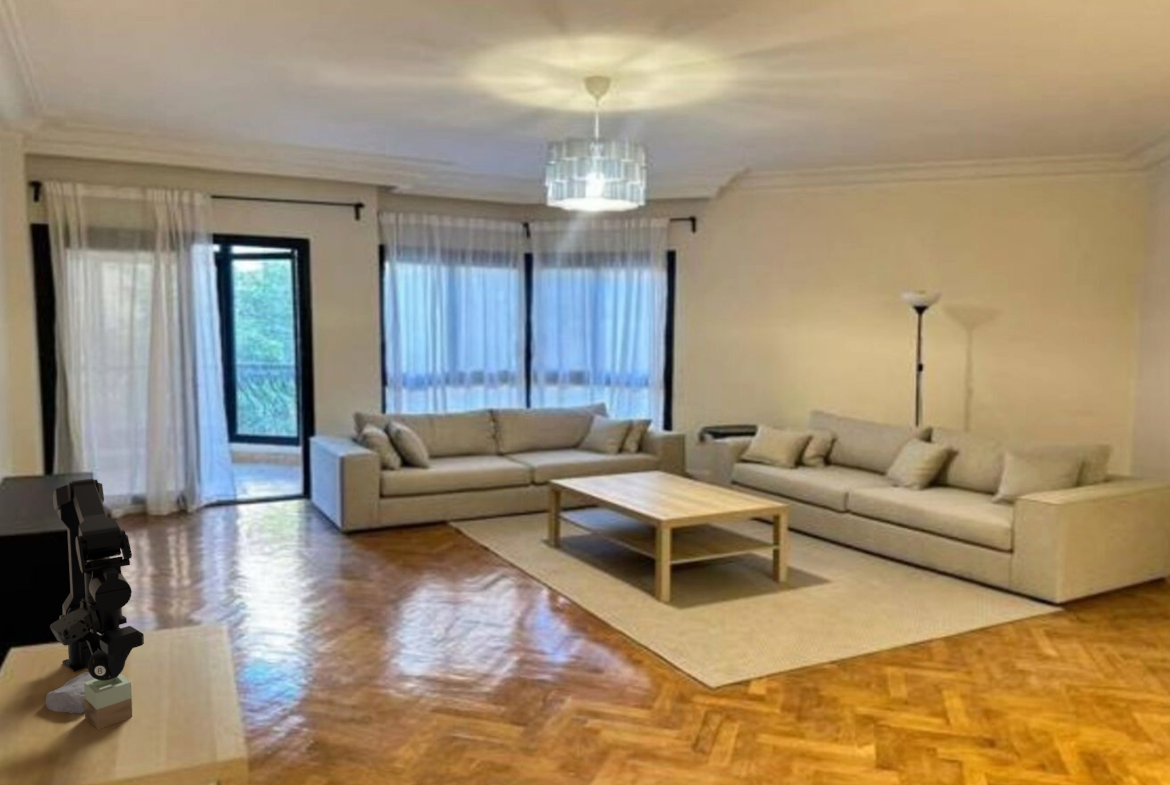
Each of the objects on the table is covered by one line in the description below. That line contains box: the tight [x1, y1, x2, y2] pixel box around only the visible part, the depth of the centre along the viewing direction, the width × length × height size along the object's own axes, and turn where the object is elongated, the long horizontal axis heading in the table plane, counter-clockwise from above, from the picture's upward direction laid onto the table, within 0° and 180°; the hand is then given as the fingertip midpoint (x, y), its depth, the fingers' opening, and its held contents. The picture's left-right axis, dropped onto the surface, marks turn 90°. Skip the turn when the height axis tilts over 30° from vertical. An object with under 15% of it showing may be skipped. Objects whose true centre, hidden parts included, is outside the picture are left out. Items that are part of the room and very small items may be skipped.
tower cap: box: [84, 672, 133, 710], centre depth 156 cm, size 6×6×3 cm
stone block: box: [45, 671, 125, 715], centre depth 164 cm, size 12×5×10 cm
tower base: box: [84, 697, 133, 730], centre depth 157 cm, size 6×6×4 cm
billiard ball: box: [87, 650, 126, 681], centre depth 155 cm, size 6×6×6 cm
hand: (107, 671), depth 156 cm, fingers closed on billiard ball, 6 cm apart
